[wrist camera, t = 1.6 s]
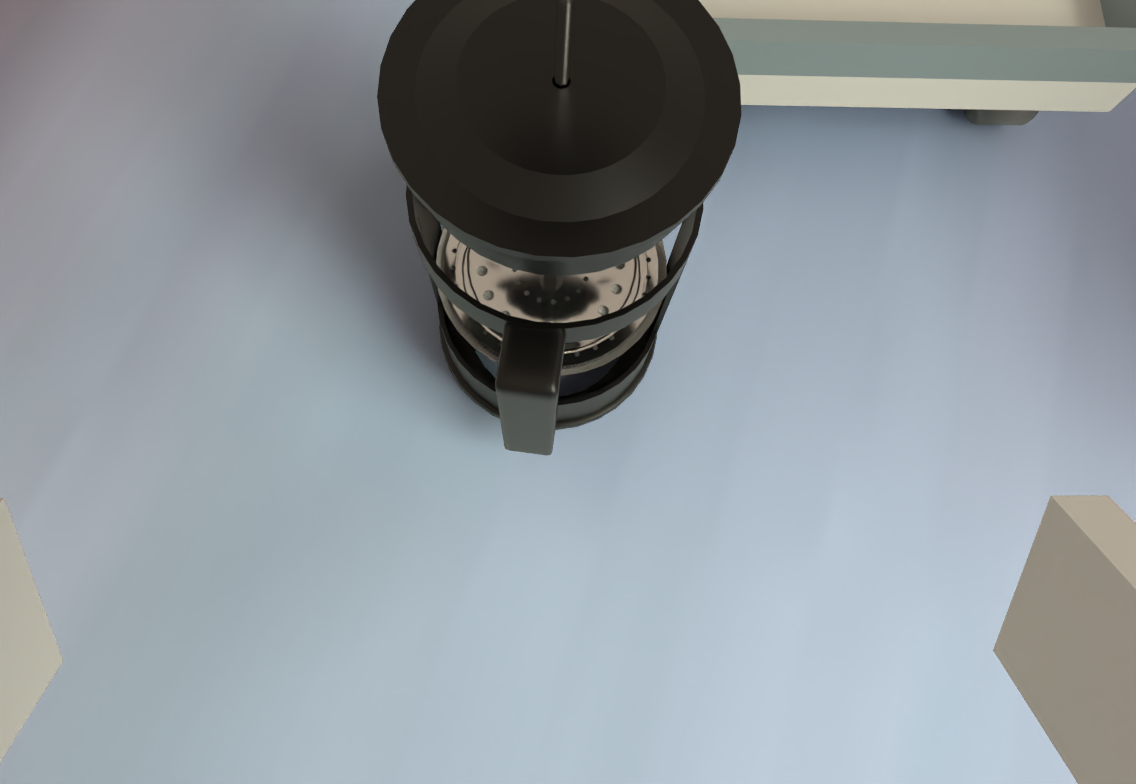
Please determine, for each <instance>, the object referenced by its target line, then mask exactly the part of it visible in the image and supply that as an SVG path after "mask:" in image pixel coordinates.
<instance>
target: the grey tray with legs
mask: <svg viewBox="0 0 1136 784" xmlns="http://www.w3.org/2000/svg"><path fill="white" fill-rule="evenodd" d="M699 1H700V2H701V4H702V5H703V6H704V8H705V9H706V10H707V11H708V13H709V14H710V15H711V17H712V18H713V19H714V21H715V22H716V23H717V24H718V26H719V27H720V29H721V31H722V33H723V35H724V38H725V40H726V42H727V44H728V46H729V48H730V50H731V52H732V54H733V57H734V61H735V65H736V69H737V73H738V77H739V81H740V91H741V105H780V106H831V107H882V108H933V109H964V111H965V114H966V116H967V118H968V120H969V121H970V122H972V123H973V124H990V125H1023V124H1026V123H1027V122H1029V121H1030V120H1031V119H1033V118H1034V116H1035V115H1036V114H1037V113H1038V111H1086V112H1110V111H1111V110H1112V109H1113V108H1114V107H1115V106H1116V105H1117V104H1118V103H1120V102H1121V101H1122V100H1123V99H1124V98H1125V97H1126V96H1127V95H1128V94H1130V93H1131V92H1132V91H1133V90H1134V89H1135V88H1136V0H699Z"/></svg>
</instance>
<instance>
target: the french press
mask: <svg viewBox="0 0 1136 784" xmlns="http://www.w3.org/2000/svg"><path fill="white" fill-rule="evenodd" d="M377 98H378V106H379V114H380V122H381V129H382V132H383V135H384V138H385V141H386V144H387V146H388V149H389V152H390V155H391V157H392V160H393V163H394V165H395V167H396V168H397V170H398V171H399V173H400V175H401V176H402V178H403V179H404V181H405V183H406V184H407V189H406V199H407V206H408V214H409V222H410V225H411V228H412V232H413V235H414V238H415V241H416V244H417V247H418V250H419V252H420V255H421V258H422V261H423V263H424V266H425V267H426V269H427V271H428V272H429V276H430V279H431V282H432V286H433V289H434V293H435V296H436V300H437V303H438V311H439V318H440V327H439V328H440V336H441V343H442V349H443V352H444V355H445V358H446V360H447V363H448V366H449V369H450V371H451V372H452V374H453V376H454V377H455V379H456V381H457V382H458V384H459V385H460V387H461V388H462V389H463V390H464V391H465V392H466V394H467V395H468V396H469V397H470V398H471V399H472V400H473V401H474V402H475V403H476V404H478V405H479V406H480V407H482V408H483V409H485V410H486V411H487V412H489V413H490V414H492V415H493V416H496V417H498V418H500V420H501V427H502V433H503V440H504V446H505V449H508V450H511V451H519V452H526V453H533V454H541V455H550V454H551V453H552V449H553V441H554V434H555V430H558V429H565V428H571V427H578V426H580V425H583V424H586V423H589V422H591V421H594V420H597V419H599V418H601V417H602V416H604V415H606V414H607V413H609V412H611V411H612V410H614V409H616V408H617V407H618V406H619V405H620V404H621V403H622V402H623V401H624V400H625V399H627V398H628V397H629V396H630V395H631V394H632V393H633V391H634V390H635V388H636V387H637V386H638V384H639V383H640V381H641V380H642V379H643V377H644V375H645V373H646V371H647V368H648V366H649V364H650V362H651V359H652V357H653V353H654V348H655V343H656V339H657V332H658V329H659V327H660V324H661V322H662V320H663V317H664V315H665V312H666V310H667V308H668V305H669V303H670V300H671V298H672V296H673V293H674V291H675V288H676V286H677V284H678V281H679V279H680V276H681V274H682V272H683V269H684V267H685V264H686V262H687V260H688V257H689V255H690V252H691V250H692V248H693V245H694V243H695V240H696V238H697V236H698V231H699V227H700V222H701V217H702V212H703V202H704V200H705V199H706V198H707V196H708V195H709V194H710V192H711V191H712V190H713V188H714V187H715V186H716V184H717V183H718V182H719V180H720V178H721V176H722V174H723V171H724V169H725V167H726V165H727V163H728V160H729V158H730V156H731V154H732V152H733V149H734V147H735V143H736V138H737V133H738V128H739V123H740V118H741V91H740V81H739V77H738V73H737V69H736V65H735V61H734V57H733V54H732V52H731V50H730V48H729V46H728V44H727V42H726V40H725V38H724V35H723V33H722V31H721V29H720V27H719V26H718V24H717V23H716V22H715V21H714V19H713V18H712V17H711V15H710V14H709V13H708V11H707V10H706V9H705V8H704V6H703V5H702V4H701V2H700V1H699V0H415V1H414V2H413V3H412V5H411V6H410V7H409V8H408V9H407V10H406V12H405V13H404V15H403V17H402V18H401V20H400V22H399V23H398V25H397V27H396V28H395V30H394V31H393V33H392V35H391V37H390V40H389V42H388V45H387V48H386V51H385V54H384V57H383V60H382V63H381V66H380V76H379V85H378V95H377ZM681 222H682V225H681V228H680V230H679V233H678V236H677V239H676V241H675V244H674V247H673V250H672V252H671V255H670V258H669V260H668V263H667V266H666V256H665V251H664V246H663V242H662V239H663V238H664V237H665V236H667V235H668V234H669V233H670V232H671V231H672V230H673V229H675V228H676V227H677V226H678V225H679V224H680V223H681ZM440 223H441V224H442V225H443V226H444V229H443V232H442V230H441V226H440ZM474 348H475V349H477V350H478V351H479V352H481V353H482V354H484V355H485V356H486V357H488V358H489V359H491V360H492V361H495V362H497V363H498V368H497V375H496V378H495V377H494V376H493V375H492V374H491V373H490V372H489V371H488V370H487V369H486V368H485V367H484V365H483V364H482V362H481V361H480V359H479V357H478V356H477V354H476V352H475V349H474ZM620 355H621V356H620ZM618 356H620V358H619V360H618V361H617V363H616V364H615V365H614V367H613V368H612V369H611V371H610V372H609V373H608V374H607V375H605V376H604V377H603V378H602V379H601V380H600V381H599V382H597V383H596V384H594V385H592V386H591V387H589V388H587V389H585V390H583V391H580V392H577V393H575V394H572V395H568V396H561V397H558V395H559V386H560V377H561V376H566V375H570V374H576V373H583V372H585V371H588V370H591V369H594V368H597V367H600V366H602V365H605V364H607V363H608V362H610V361H612V360H613V359H615V358H617V357H618Z"/></svg>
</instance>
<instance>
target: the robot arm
mask: <svg viewBox="0 0 1136 784" xmlns="http://www.w3.org/2000/svg"><path fill="white" fill-rule="evenodd" d="M993 651H994V652H995V654H996V656H997V657H998V659H999V660H1000V662H1001V663H1002V665H1003V667H1004V668H1005V670H1006V671H1007V673H1008V674H1009V676H1010V678H1011V679H1012V681H1013V682H1014V684H1015V685H1016V687H1017V689H1018V690H1019V692H1020V693H1021V695H1022V696H1023V698H1024V700H1025V701H1026V703H1027V704H1028V706H1029V707H1030V709H1031V711H1032V712H1033V714H1034V715H1035V717H1036V718H1037V720H1038V722H1039V723H1040V725H1041V726H1042V728H1043V729H1044V731H1045V733H1046V734H1047V736H1048V737H1049V739H1050V740H1051V742H1052V744H1053V745H1054V747H1055V748H1056V750H1057V751H1058V753H1059V754H1060V756H1061V758H1062V759H1063V761H1064V762H1065V764H1066V765H1067V767H1068V769H1069V770H1070V772H1071V773H1072V775H1073V776H1074V778H1075V780H1076V781H1077V783H1078V784H1136V523H1135V522H1134V521H1133V520H1132V519H1131V518H1130V517H1129V516H1128V515H1127V514H1126V513H1125V512H1124V511H1123V510H1122V509H1121V508H1120V507H1119V506H1118V505H1117V504H1116V503H1115V502H1114V501H1113V500H1112V499H1111V498H1110V497H1109V496H1051V497H1050V499H1049V502H1048V505H1047V507H1046V510H1045V513H1044V516H1043V518H1042V521H1041V524H1040V526H1039V529H1038V532H1037V534H1036V537H1035V540H1034V542H1033V545H1032V548H1031V550H1030V553H1029V556H1028V558H1027V561H1026V564H1025V566H1024V569H1023V572H1022V574H1021V577H1020V580H1019V582H1018V585H1017V588H1016V590H1015V593H1014V596H1013V598H1012V601H1011V604H1010V606H1009V609H1008V612H1007V615H1006V617H1005V620H1004V623H1003V625H1002V628H1001V631H1000V633H999V636H998V639H997V641H996V644H995V647H994V649H993ZM62 662H63V659H62V656H61V654H60V651H59V648H58V645H57V643H56V640H55V637H54V634H53V631H52V629H51V626H50V623H49V620H48V618H47V615H46V612H45V609H44V606H43V604H42V601H41V598H40V595H39V593H38V590H37V587H36V584H35V581H34V579H33V576H32V573H31V570H30V568H29V565H28V562H27V559H26V557H25V554H24V551H23V548H22V545H21V543H20V540H19V537H18V534H17V532H16V529H15V526H14V523H13V520H12V518H11V515H10V512H9V509H8V507H7V504H6V501H5V498H0V762H1V760H2V759H3V757H4V756H5V754H6V752H7V751H8V749H9V747H10V746H11V744H12V743H13V741H14V739H15V738H16V736H17V735H18V733H19V731H20V730H21V728H22V727H23V725H24V723H25V722H26V720H27V719H28V717H29V715H30V714H31V712H32V711H33V709H34V707H35V706H36V704H37V702H38V701H39V699H40V698H41V696H42V694H43V693H44V691H45V690H46V688H47V686H48V685H49V683H50V682H51V680H52V678H53V677H54V675H55V674H56V672H57V670H58V669H59V667H60V666H61V664H62Z"/></svg>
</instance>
